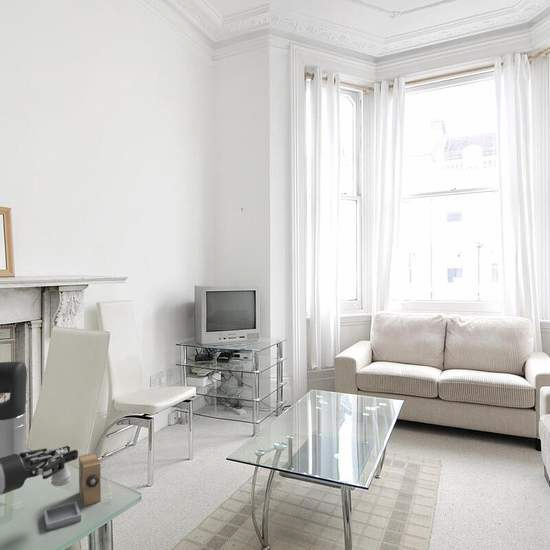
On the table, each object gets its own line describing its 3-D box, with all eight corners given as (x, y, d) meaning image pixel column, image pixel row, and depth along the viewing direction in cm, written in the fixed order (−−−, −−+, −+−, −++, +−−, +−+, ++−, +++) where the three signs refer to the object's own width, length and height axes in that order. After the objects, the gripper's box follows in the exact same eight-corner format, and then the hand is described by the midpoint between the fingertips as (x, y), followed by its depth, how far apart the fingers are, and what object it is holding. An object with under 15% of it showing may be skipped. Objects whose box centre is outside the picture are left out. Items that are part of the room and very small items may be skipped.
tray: (43, 515, 106) (43, 509, 106) (76, 506, 110) (76, 501, 110) (46, 531, 99) (46, 524, 99) (81, 520, 103) (81, 514, 103)
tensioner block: (79, 492, 117) (78, 456, 117) (94, 488, 119) (94, 452, 119) (84, 507, 109) (84, 468, 109) (101, 502, 111) (101, 464, 111)
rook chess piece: (74, 481, 105) (75, 449, 105) (57, 488, 101) (57, 455, 101) (65, 476, 107) (65, 444, 107) (47, 483, 104) (47, 450, 104)
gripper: (9, 469, 89) (88, 443, 102) (-17, 452, 97) (59, 430, 111) (9, 505, 89) (88, 474, 102) (-17, 485, 97) (59, 459, 111)
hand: (72, 451), depth 106 cm, fingers closed on rook chess piece, 3 cm apart
